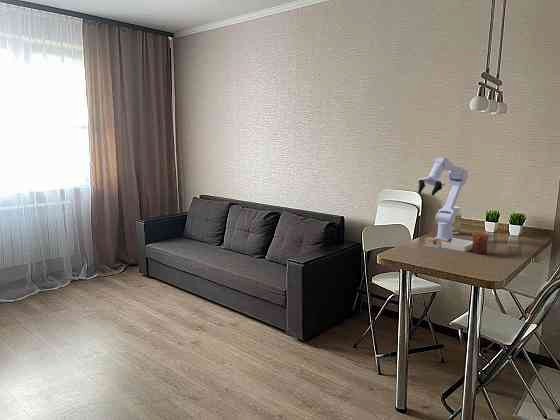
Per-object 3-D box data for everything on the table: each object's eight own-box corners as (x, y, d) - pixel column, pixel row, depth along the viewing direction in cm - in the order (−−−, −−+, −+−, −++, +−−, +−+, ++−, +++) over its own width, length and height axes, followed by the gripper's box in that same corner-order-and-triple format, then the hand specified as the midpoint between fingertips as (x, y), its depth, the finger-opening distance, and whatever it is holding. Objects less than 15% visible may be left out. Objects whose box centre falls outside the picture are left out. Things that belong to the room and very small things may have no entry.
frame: (451, 242, 246) (452, 237, 246) (475, 246, 238) (476, 241, 237) (441, 247, 234) (441, 242, 234) (465, 251, 226) (465, 246, 225)
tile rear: (428, 241, 250) (428, 237, 249) (436, 242, 247) (437, 238, 246) (424, 242, 246) (425, 238, 246) (433, 244, 243) (433, 240, 242)
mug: (472, 249, 231) (474, 231, 229) (490, 252, 226) (492, 233, 224) (466, 254, 221) (468, 234, 220) (485, 257, 216) (487, 237, 215)
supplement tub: (462, 234, 270) (465, 208, 268) (443, 234, 270) (446, 207, 267) (454, 230, 282) (457, 205, 280) (436, 230, 282) (438, 205, 280)
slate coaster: (426, 244, 243) (426, 243, 243) (441, 246, 239) (441, 245, 239) (422, 247, 237) (422, 245, 236) (437, 249, 232) (438, 247, 232)
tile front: (439, 243, 246) (439, 239, 245) (448, 244, 242) (448, 240, 242) (436, 244, 242) (436, 240, 241) (444, 246, 239) (445, 241, 238)
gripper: (421, 168, 241) (411, 187, 236) (446, 171, 232) (437, 190, 227) (423, 177, 246) (414, 195, 241) (449, 180, 236) (439, 198, 231)
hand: (425, 193), depth 234 cm, fingers open, 7 cm apart
